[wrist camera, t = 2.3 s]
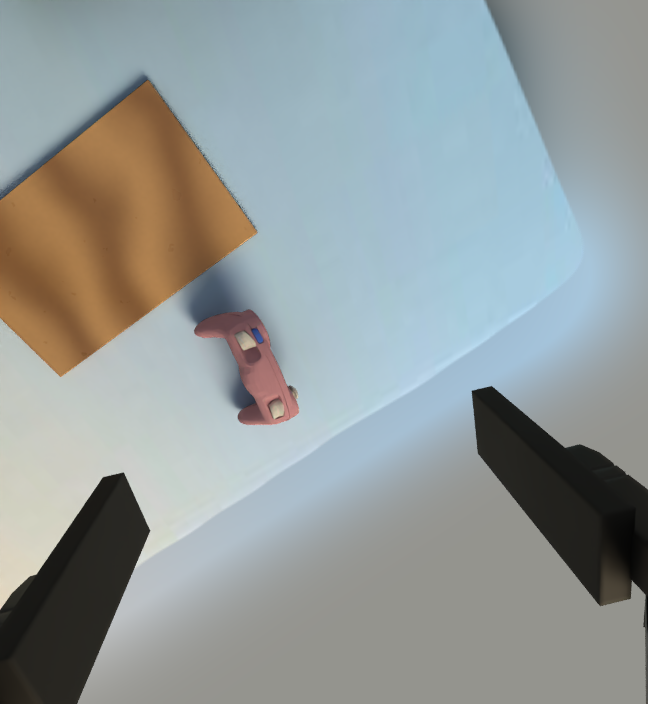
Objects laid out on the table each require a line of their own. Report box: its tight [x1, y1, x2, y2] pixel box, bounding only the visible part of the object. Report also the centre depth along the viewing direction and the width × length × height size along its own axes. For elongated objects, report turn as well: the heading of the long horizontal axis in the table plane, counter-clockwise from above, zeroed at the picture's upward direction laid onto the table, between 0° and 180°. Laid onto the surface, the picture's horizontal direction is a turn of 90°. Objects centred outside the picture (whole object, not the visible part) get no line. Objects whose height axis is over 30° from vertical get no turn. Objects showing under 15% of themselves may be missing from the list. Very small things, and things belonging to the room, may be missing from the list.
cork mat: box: [0, 80, 258, 377], centre depth 31 cm, size 20×12×1 cm, turn 124°
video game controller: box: [194, 309, 299, 425], centre depth 33 cm, size 10×5×7 cm, turn 20°
